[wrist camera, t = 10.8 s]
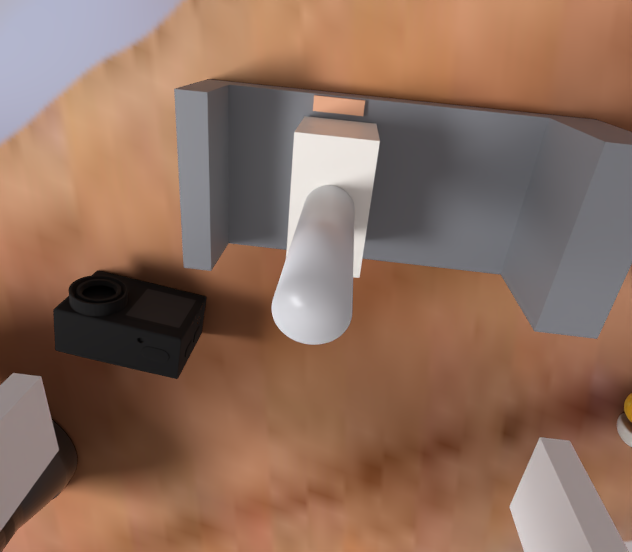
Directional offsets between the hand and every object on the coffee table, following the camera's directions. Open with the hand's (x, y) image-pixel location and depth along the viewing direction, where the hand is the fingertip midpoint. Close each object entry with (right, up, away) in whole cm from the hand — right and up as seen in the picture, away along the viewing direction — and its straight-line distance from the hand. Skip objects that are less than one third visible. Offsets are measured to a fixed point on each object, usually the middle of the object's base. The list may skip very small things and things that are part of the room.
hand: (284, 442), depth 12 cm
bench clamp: (+6, +12, +24) cm, 27 cm away
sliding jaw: (+2, +11, +22) cm, 25 cm away
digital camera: (-14, +3, +31) cm, 34 cm away
